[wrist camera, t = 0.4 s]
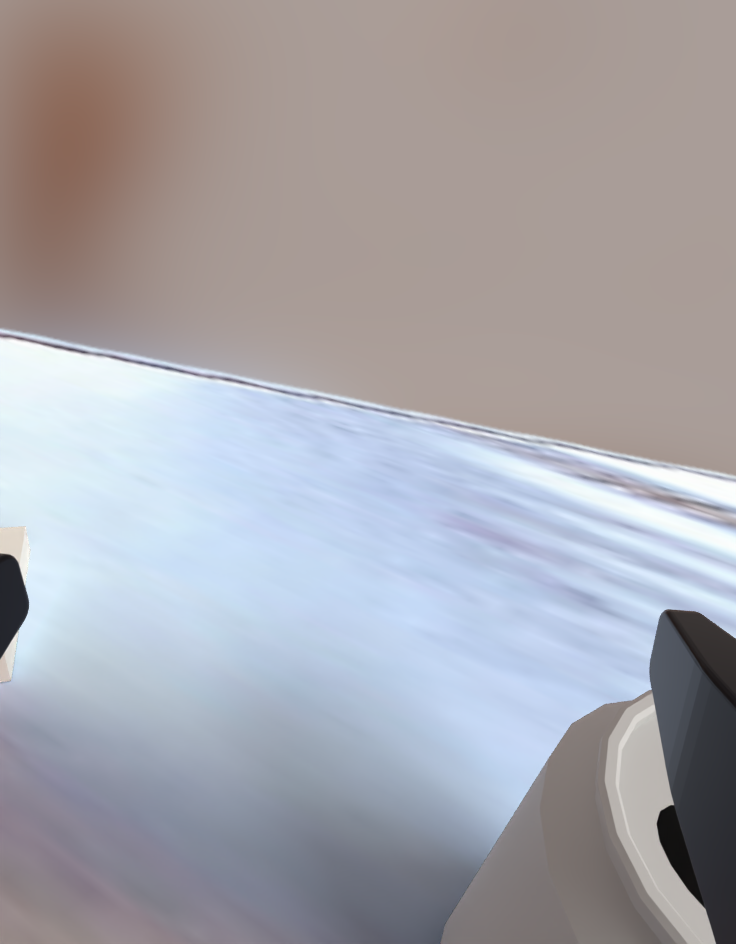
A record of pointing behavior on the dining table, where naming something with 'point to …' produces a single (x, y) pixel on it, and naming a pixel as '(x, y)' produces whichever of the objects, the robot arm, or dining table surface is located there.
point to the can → (590, 848)
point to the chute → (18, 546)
